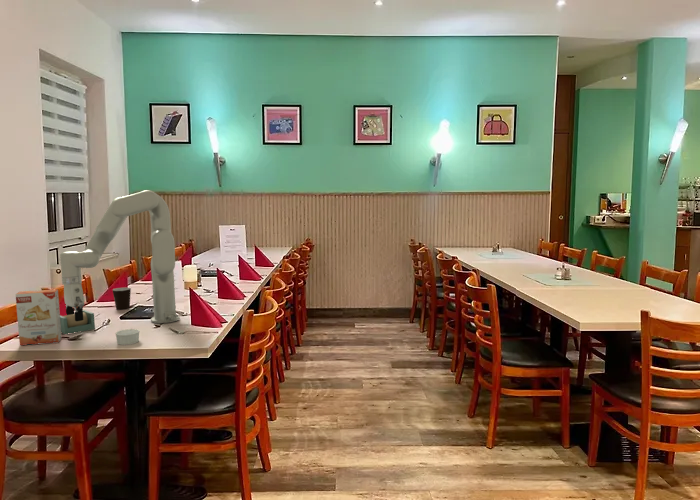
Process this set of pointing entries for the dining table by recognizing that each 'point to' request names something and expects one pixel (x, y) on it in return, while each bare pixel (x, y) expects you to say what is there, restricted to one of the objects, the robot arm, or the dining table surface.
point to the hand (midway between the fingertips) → (74, 319)
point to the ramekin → (127, 336)
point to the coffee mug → (122, 298)
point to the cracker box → (38, 316)
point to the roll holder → (88, 326)
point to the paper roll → (73, 323)
